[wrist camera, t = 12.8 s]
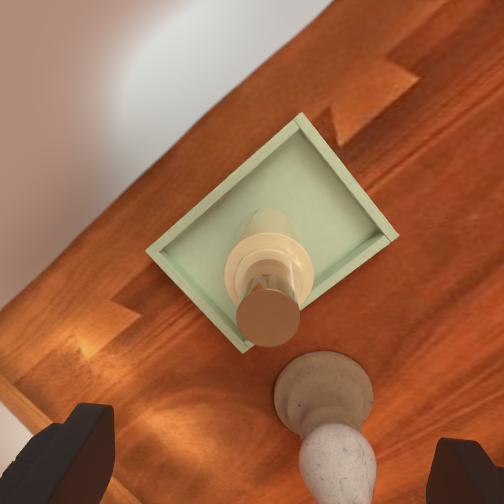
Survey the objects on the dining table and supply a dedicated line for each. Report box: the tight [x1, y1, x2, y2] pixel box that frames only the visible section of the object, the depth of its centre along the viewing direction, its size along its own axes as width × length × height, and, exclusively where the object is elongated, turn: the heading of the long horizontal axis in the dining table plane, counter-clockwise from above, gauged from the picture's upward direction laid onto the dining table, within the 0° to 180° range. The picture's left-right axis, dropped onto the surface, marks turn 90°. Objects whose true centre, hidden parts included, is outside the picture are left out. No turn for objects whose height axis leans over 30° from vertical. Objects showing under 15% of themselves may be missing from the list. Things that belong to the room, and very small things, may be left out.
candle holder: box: [274, 351, 377, 504], centre depth 25 cm, size 9×9×20 cm
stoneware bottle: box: [224, 208, 314, 347], centre depth 24 cm, size 5×5×14 cm
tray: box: [145, 112, 399, 354], centre depth 30 cm, size 16×12×2 cm
